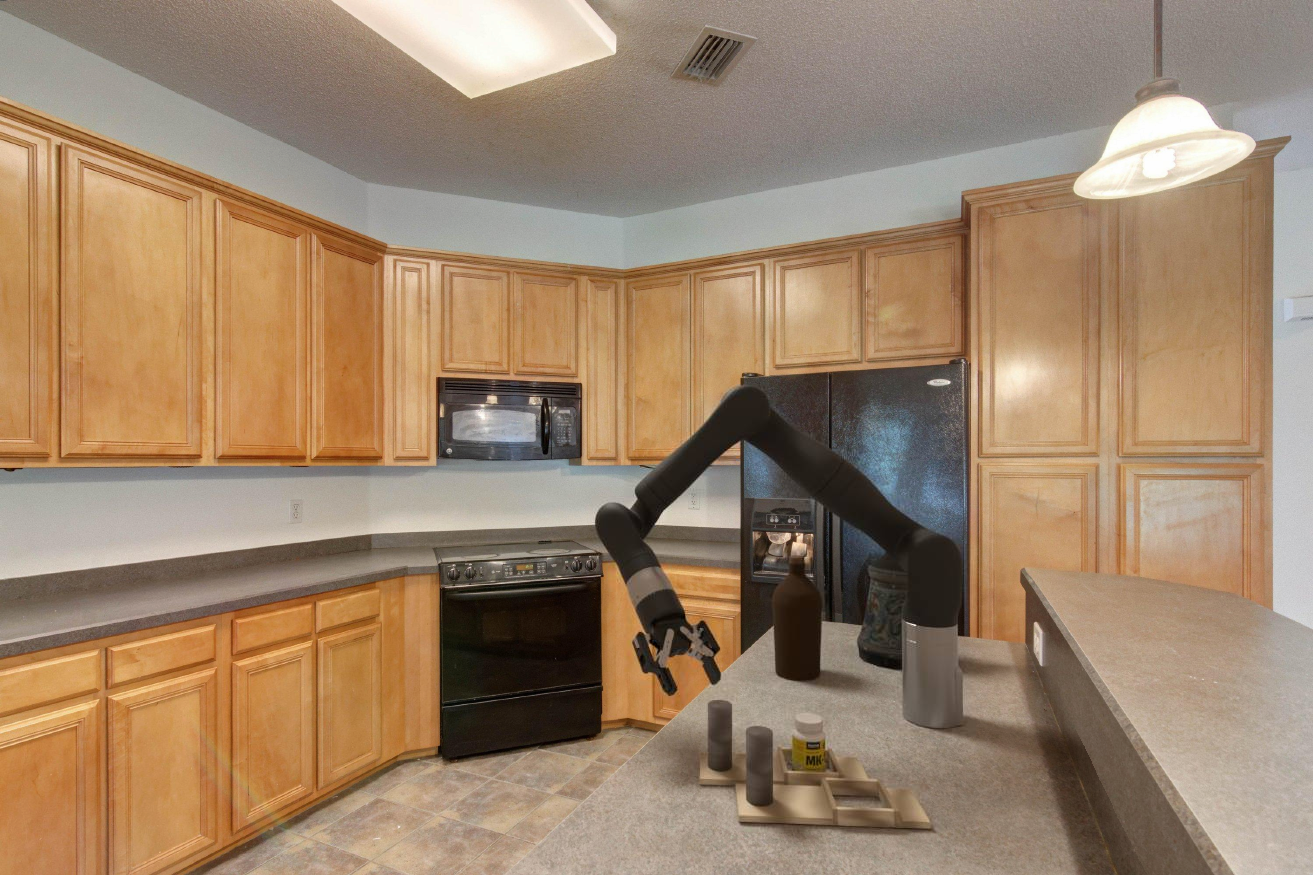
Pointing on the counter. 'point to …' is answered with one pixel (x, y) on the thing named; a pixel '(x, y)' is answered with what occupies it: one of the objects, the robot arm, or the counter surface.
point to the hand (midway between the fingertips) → (695, 687)
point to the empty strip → (817, 795)
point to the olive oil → (797, 624)
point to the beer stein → (884, 615)
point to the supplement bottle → (808, 743)
